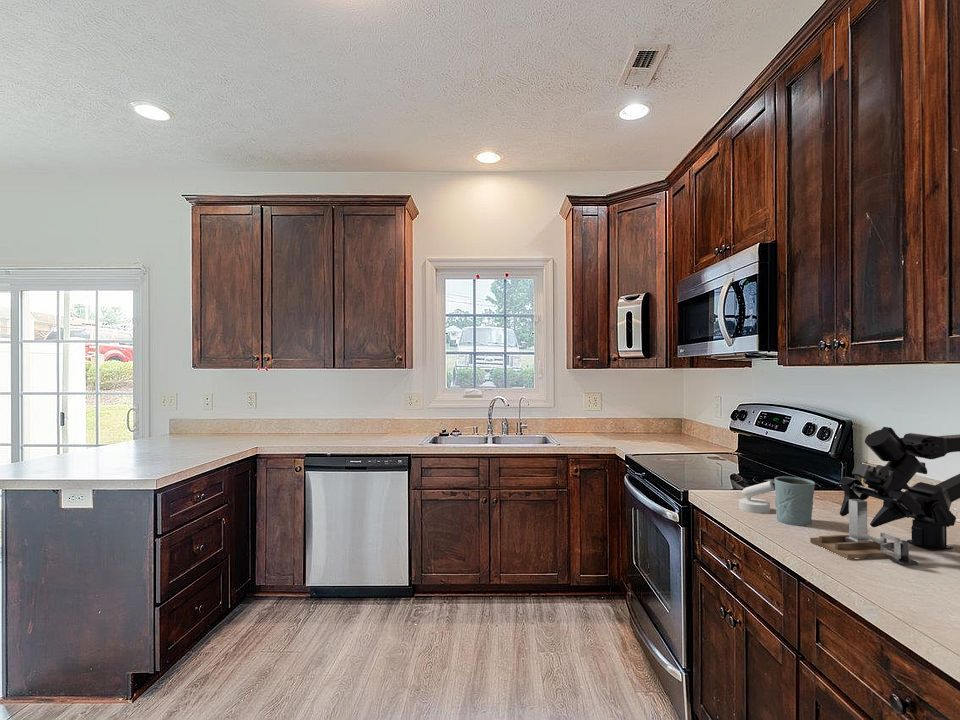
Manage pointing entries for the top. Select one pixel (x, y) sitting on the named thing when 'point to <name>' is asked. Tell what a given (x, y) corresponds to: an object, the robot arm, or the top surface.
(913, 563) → the keeper hook
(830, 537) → the track board
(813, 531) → the top surface
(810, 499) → the green embossed cup
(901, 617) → the top surface
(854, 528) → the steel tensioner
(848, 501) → the robot arm
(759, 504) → the wall hook
